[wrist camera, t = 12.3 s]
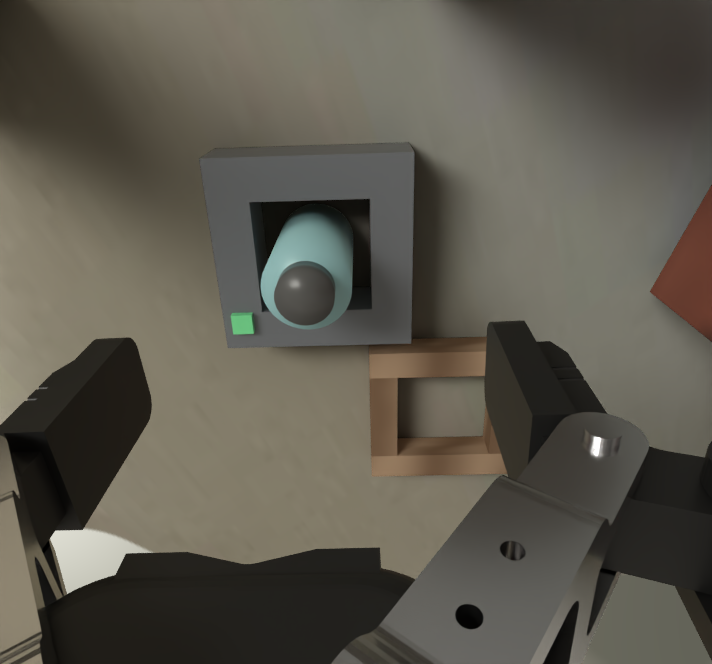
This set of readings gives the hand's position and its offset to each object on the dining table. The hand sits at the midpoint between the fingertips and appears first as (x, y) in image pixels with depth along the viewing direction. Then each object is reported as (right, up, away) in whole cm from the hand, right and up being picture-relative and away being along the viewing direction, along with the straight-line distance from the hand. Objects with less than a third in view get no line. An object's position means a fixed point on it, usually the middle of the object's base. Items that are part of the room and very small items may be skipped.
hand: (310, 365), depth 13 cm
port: (-1, +6, +21) cm, 22 cm away
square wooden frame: (+7, -4, +26) cm, 27 cm away
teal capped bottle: (-1, +6, +21) cm, 22 cm away
